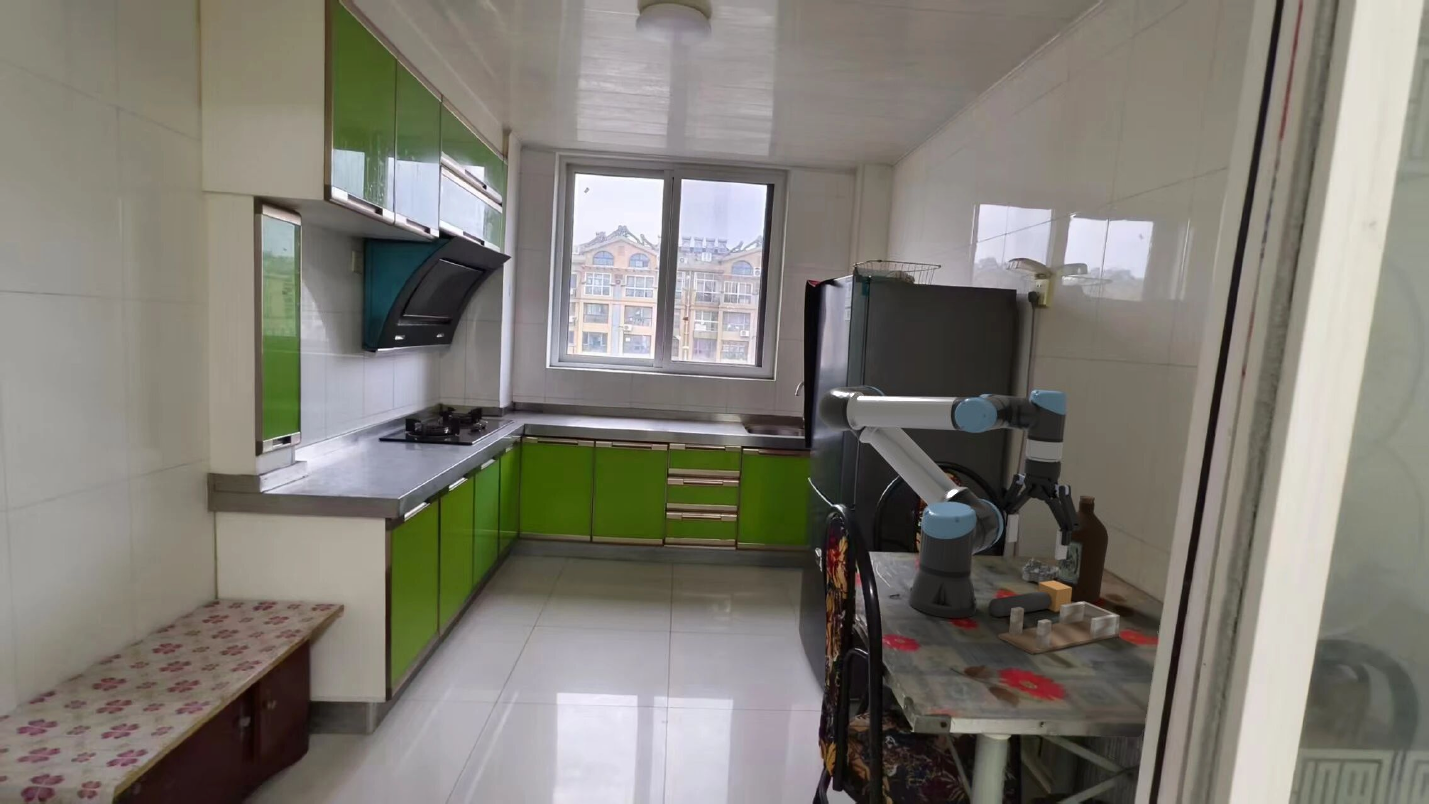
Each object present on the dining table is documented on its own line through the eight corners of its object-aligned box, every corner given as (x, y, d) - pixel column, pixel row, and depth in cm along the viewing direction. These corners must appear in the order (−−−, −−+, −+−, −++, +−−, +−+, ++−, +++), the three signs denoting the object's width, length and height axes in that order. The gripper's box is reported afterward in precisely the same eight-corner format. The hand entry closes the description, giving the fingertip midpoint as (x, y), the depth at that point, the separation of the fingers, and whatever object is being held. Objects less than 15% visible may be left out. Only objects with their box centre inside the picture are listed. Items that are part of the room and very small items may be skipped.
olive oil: (1078, 587, 185) (1087, 491, 182) (1112, 602, 175) (1122, 501, 172) (1044, 589, 182) (1053, 492, 179) (1077, 605, 172) (1087, 502, 169)
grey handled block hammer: (999, 621, 160) (1001, 599, 159) (982, 613, 164) (984, 591, 164) (1069, 609, 169) (1072, 587, 169) (1051, 601, 174) (1054, 580, 173)
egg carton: (1031, 571, 197) (1032, 556, 197) (1060, 578, 192) (1062, 563, 192) (1017, 579, 190) (1018, 564, 189) (1047, 587, 185) (1048, 571, 184)
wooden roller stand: (1031, 654, 143) (1034, 625, 143) (997, 637, 151) (1000, 609, 151) (1118, 636, 155) (1121, 609, 154) (1083, 620, 162) (1085, 595, 162)
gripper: (1104, 468, 154) (1094, 565, 156) (1011, 449, 176) (1004, 533, 179) (1080, 470, 151) (1070, 568, 153) (988, 449, 173) (981, 536, 175)
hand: (1034, 550), depth 166 cm, fingers open, 13 cm apart
